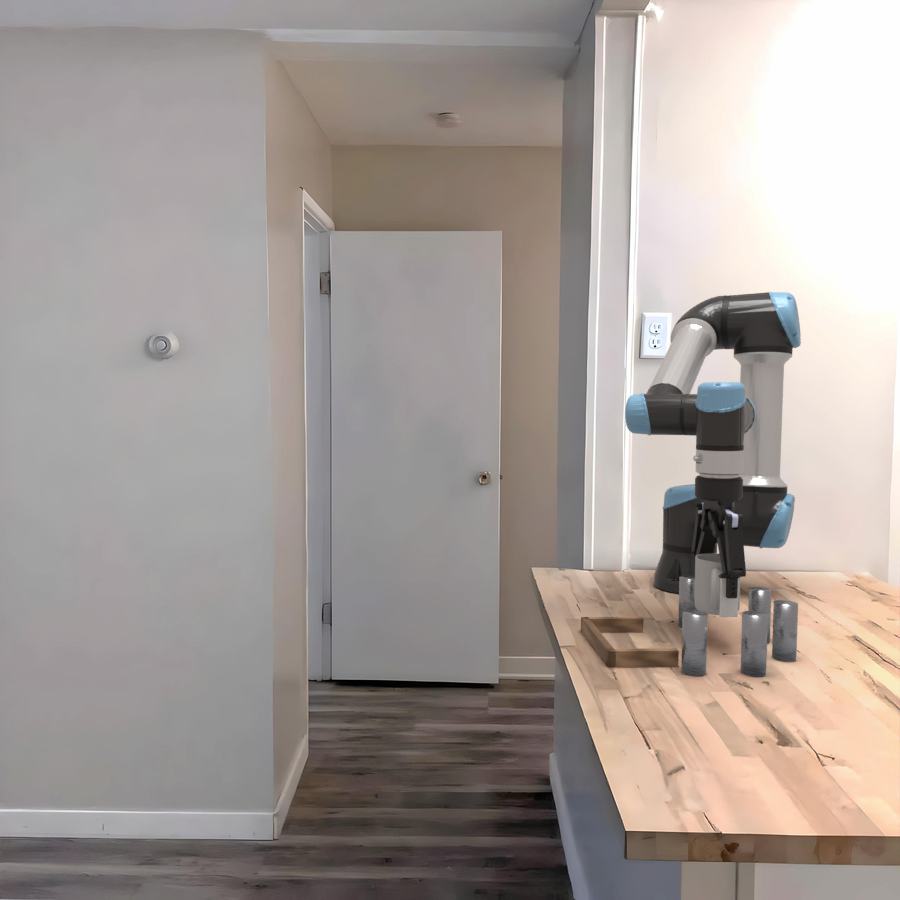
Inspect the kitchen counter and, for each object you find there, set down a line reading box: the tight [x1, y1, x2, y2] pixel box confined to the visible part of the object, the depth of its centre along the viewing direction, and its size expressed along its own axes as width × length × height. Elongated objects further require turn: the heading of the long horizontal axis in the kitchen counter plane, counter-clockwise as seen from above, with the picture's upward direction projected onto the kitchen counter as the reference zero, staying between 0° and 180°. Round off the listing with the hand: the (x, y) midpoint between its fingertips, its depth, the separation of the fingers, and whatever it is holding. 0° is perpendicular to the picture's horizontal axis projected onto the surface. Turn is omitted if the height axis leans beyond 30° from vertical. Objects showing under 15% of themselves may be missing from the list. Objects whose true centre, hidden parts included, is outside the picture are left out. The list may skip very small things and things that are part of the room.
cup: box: [695, 553, 741, 616], centre depth 126 cm, size 7×10×9 cm
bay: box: [580, 616, 680, 668], centre depth 126 cm, size 11×19×2 cm, turn 3°
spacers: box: [677, 576, 799, 678], centre depth 126 cm, size 21×28×9 cm
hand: (715, 607), depth 127 cm, fingers closed on cup, 9 cm apart
